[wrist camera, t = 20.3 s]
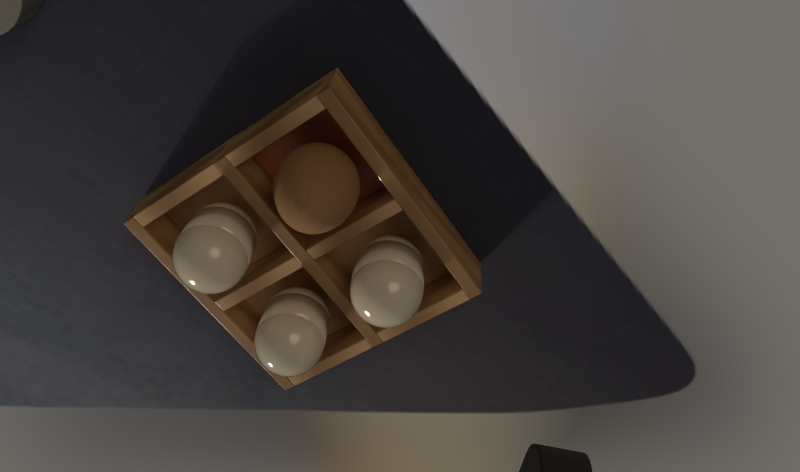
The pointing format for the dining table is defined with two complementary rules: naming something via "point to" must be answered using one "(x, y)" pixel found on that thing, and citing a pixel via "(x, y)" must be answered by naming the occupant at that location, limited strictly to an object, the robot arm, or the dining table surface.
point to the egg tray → (312, 253)
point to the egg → (316, 187)
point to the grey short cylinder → (17, 13)
